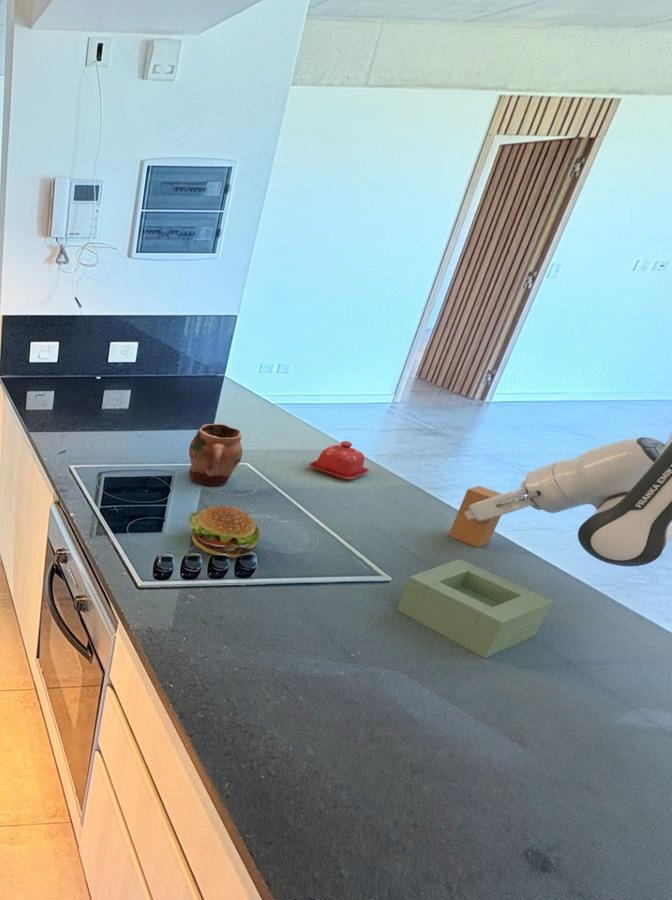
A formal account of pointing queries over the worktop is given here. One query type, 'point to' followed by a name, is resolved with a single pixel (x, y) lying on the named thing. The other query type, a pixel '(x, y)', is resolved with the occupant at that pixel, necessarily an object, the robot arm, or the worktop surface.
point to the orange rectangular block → (470, 528)
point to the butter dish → (341, 461)
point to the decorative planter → (214, 454)
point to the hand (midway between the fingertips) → (475, 513)
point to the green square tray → (473, 607)
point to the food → (224, 531)
